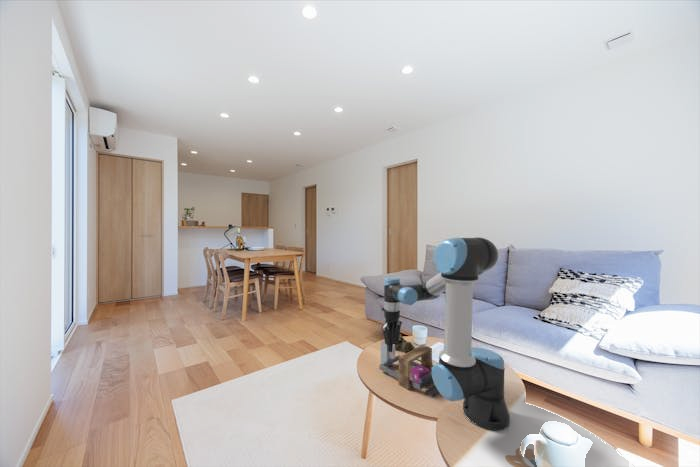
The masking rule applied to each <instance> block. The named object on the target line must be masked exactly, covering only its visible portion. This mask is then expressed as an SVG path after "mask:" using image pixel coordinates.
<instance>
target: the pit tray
mask: <svg viewBox="0 0 700 467" xmlns="http://www.w3.org/2000/svg"><path fill="white" fill-rule="evenodd" d="M424 394H425V395H428V396H429V397H431V398H434V397H436V395H438V394H440V393H439V391H438V390H437V388H436V386H435V384H433V385H432V386H430V387H429V388H428V389H426V390H425V391H424Z"/></svg>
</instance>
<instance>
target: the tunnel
mask: <svg viewBox="0 0 700 467" xmlns="http://www.w3.org/2000/svg"><path fill="white" fill-rule="evenodd" d="M418 359H420V364H421V365H424V366H426V367H428V368H430V369H432V367H433V348H432V347H429V346H427V345H424V344H421V345H419V346H416V347H414V348H413V349H412V350H409V351H406V352H405V353H403V354H402V355H400V357H399V360H398V373H399V379H398V386H400V387H402V388H403V389H405V390H408V391H409V390H410V389H411V385H410V379H411V365H410V363H411V362H413V361H414V362H416V360H418Z"/></svg>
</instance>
